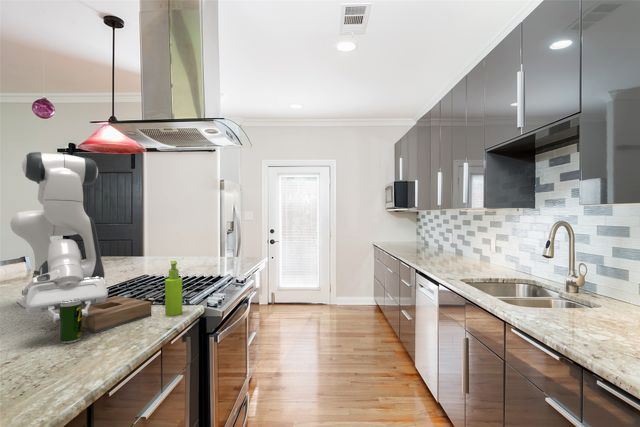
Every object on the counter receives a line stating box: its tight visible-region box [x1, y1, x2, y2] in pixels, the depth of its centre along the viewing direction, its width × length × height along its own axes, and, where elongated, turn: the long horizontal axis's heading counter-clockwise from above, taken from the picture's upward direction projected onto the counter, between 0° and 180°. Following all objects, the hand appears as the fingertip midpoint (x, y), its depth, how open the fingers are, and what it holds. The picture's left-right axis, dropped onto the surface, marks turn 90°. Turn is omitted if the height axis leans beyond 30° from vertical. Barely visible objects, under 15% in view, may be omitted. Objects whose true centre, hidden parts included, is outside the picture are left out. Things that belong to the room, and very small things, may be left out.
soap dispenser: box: [164, 260, 183, 317], centre depth 127 cm, size 6×7×20 cm
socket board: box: [82, 295, 152, 334], centre depth 121 cm, size 20×20×5 cm
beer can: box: [58, 299, 83, 344], centre depth 101 cm, size 5×5×12 cm
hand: (71, 318), depth 101 cm, fingers closed on beer can, 5 cm apart
